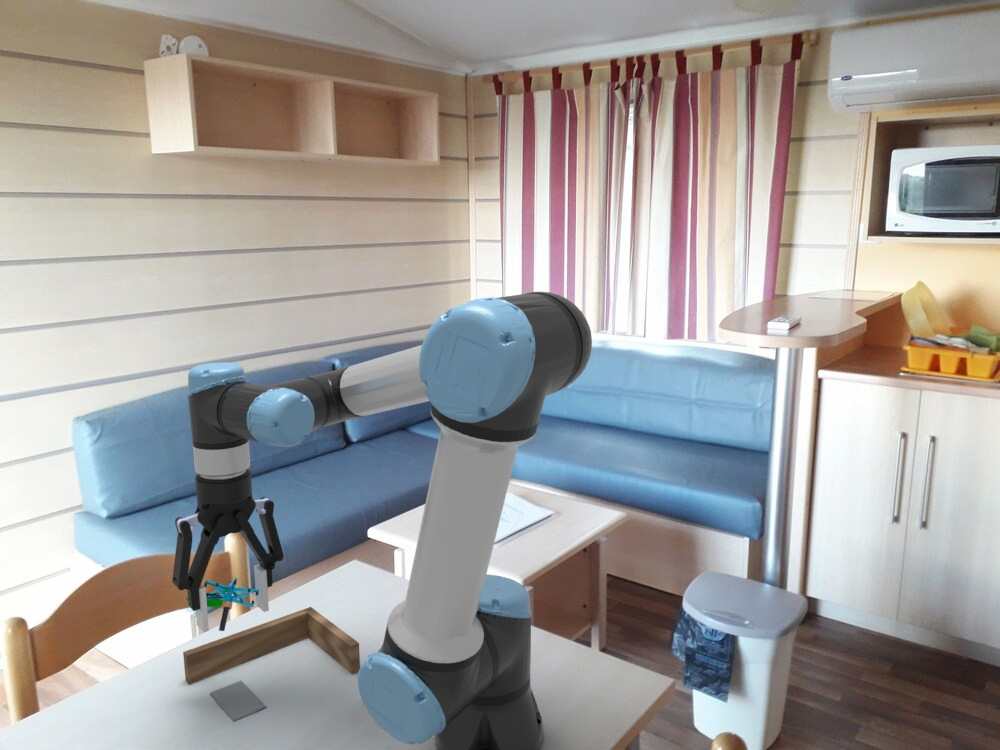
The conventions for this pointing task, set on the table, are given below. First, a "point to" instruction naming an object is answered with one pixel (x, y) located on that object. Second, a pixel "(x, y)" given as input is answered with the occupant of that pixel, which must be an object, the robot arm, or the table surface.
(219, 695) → the pad
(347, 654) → the wooden corner wall
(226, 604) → the stick construction toy
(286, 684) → the table surface
